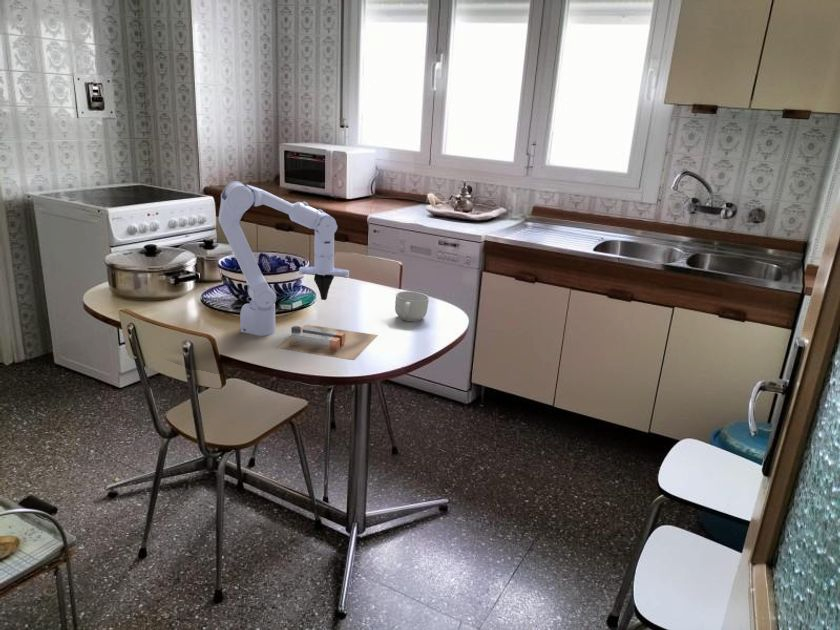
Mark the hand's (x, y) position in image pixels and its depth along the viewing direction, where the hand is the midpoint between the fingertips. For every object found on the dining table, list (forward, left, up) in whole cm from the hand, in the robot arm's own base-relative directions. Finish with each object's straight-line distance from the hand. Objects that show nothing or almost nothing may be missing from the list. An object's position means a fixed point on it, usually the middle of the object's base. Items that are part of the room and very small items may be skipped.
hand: (324, 298), depth 184 cm
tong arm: (+6, -13, -8) cm, 16 cm away
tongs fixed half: (+4, -16, -8) cm, 18 cm away
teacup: (+22, +18, -10) cm, 30 cm away
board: (+7, -12, -9) cm, 17 cm away
